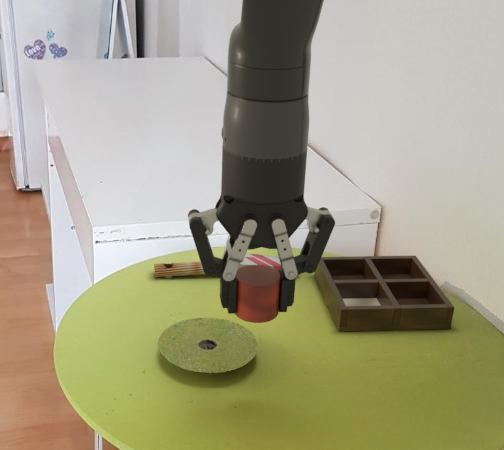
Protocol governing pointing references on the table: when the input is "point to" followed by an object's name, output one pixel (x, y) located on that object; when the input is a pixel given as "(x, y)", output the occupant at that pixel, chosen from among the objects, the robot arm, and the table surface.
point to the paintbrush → (197, 268)
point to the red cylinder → (257, 293)
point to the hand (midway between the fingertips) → (256, 308)
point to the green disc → (208, 345)
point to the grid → (382, 294)
